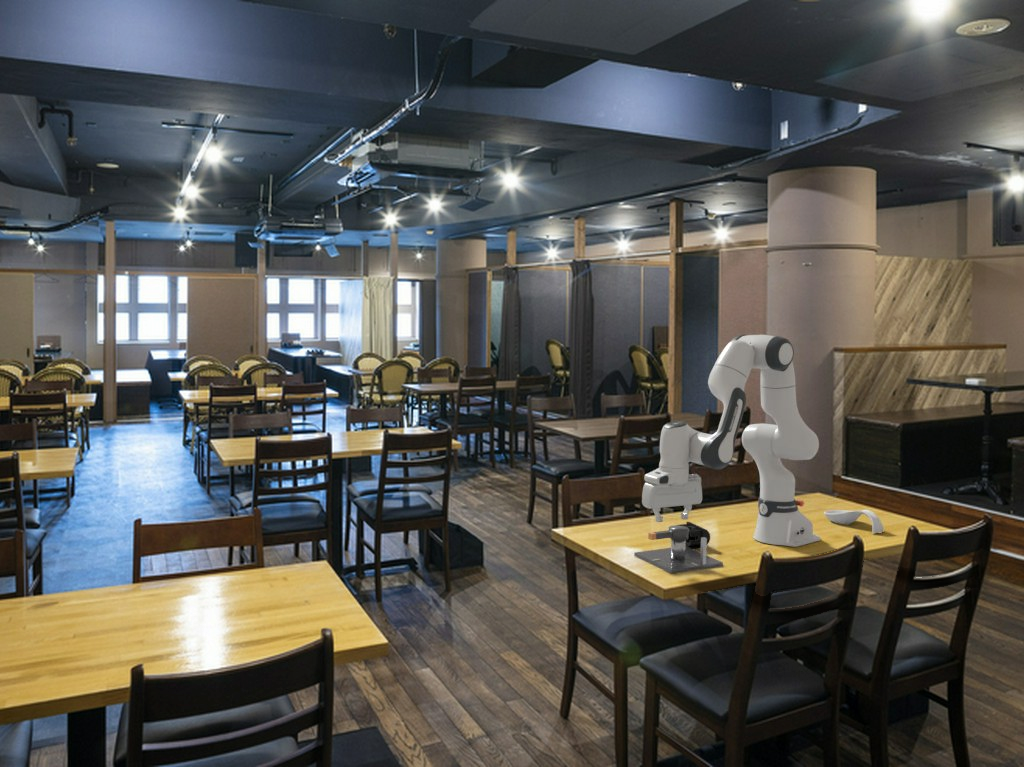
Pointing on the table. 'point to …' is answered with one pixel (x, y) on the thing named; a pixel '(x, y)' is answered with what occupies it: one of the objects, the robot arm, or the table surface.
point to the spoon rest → (854, 518)
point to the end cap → (695, 535)
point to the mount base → (676, 563)
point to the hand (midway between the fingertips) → (671, 520)
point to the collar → (671, 533)
